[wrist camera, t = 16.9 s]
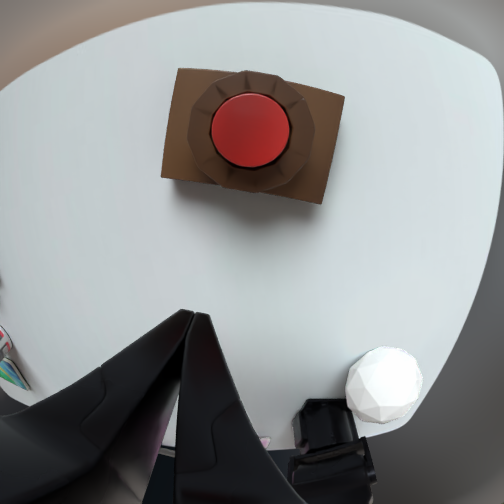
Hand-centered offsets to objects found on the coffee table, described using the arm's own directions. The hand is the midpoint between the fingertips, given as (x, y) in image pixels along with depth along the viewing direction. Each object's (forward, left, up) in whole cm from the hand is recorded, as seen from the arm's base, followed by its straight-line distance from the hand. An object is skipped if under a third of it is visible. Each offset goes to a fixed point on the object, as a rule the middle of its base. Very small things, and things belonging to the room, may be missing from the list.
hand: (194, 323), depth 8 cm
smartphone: (+41, +34, -12) cm, 54 cm away
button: (0, -6, -8) cm, 10 cm away
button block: (0, -6, -12) cm, 13 cm away
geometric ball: (-16, +12, -12) cm, 24 cm away
